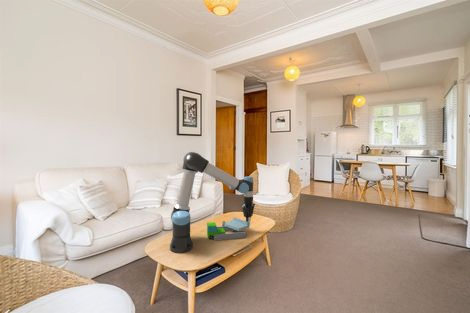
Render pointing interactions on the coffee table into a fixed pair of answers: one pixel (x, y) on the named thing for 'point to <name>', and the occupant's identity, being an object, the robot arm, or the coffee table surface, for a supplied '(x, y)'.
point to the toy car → (213, 230)
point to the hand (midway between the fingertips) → (248, 225)
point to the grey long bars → (229, 234)
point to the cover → (236, 224)
